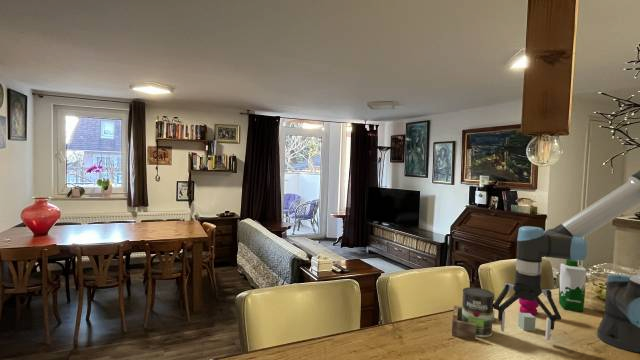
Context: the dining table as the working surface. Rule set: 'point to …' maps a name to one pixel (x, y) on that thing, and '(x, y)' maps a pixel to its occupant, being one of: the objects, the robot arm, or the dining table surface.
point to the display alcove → (462, 325)
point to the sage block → (526, 321)
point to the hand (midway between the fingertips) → (524, 334)
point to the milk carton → (572, 286)
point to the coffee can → (478, 309)
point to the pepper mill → (528, 306)
